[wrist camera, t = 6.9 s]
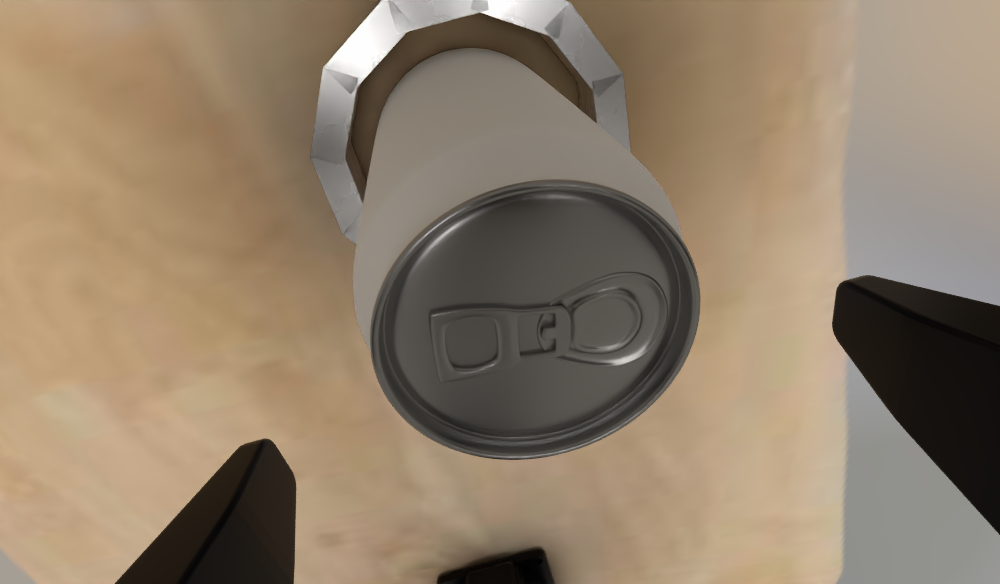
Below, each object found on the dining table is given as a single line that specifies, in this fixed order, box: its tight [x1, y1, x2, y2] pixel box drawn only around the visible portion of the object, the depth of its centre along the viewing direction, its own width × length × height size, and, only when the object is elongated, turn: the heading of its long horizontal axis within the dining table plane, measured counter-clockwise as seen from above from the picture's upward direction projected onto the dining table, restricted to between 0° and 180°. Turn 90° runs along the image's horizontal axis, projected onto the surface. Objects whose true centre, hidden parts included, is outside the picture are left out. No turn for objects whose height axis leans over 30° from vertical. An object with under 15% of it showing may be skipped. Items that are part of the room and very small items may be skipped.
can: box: [353, 48, 700, 460], centre depth 14 cm, size 6×6×12 cm
